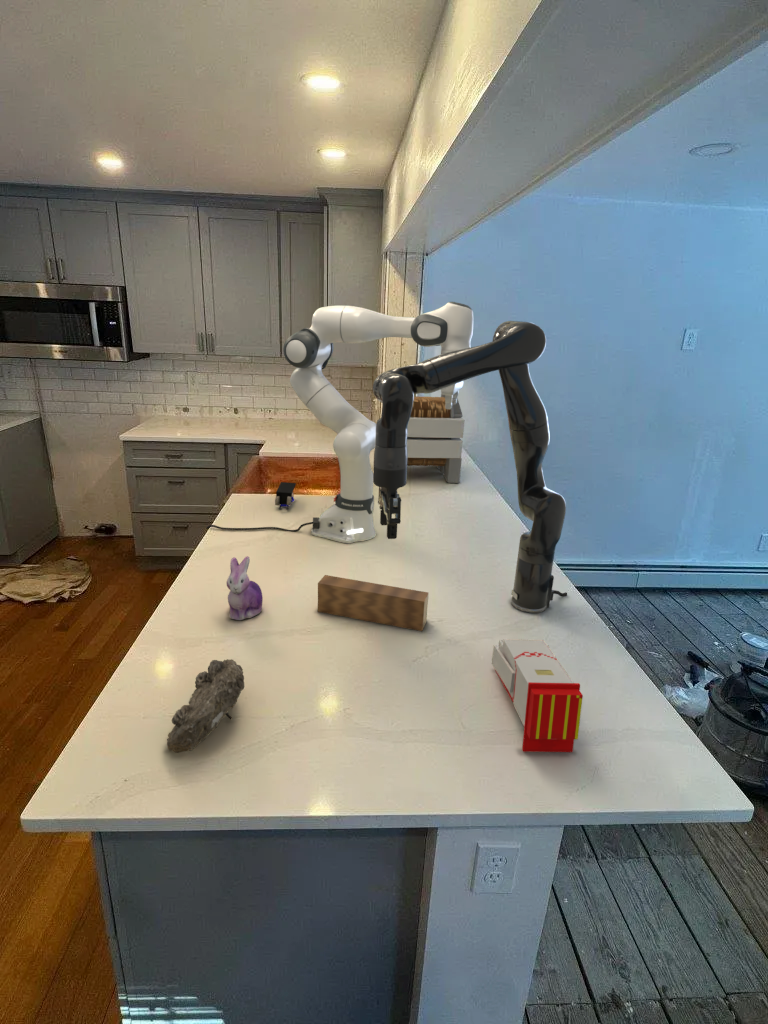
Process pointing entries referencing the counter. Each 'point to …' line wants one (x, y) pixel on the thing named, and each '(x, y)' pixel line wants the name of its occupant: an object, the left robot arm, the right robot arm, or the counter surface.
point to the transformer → (436, 436)
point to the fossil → (206, 705)
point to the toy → (539, 694)
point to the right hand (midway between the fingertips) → (388, 531)
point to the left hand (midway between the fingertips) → (450, 406)
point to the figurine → (243, 592)
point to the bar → (373, 602)
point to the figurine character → (285, 494)
